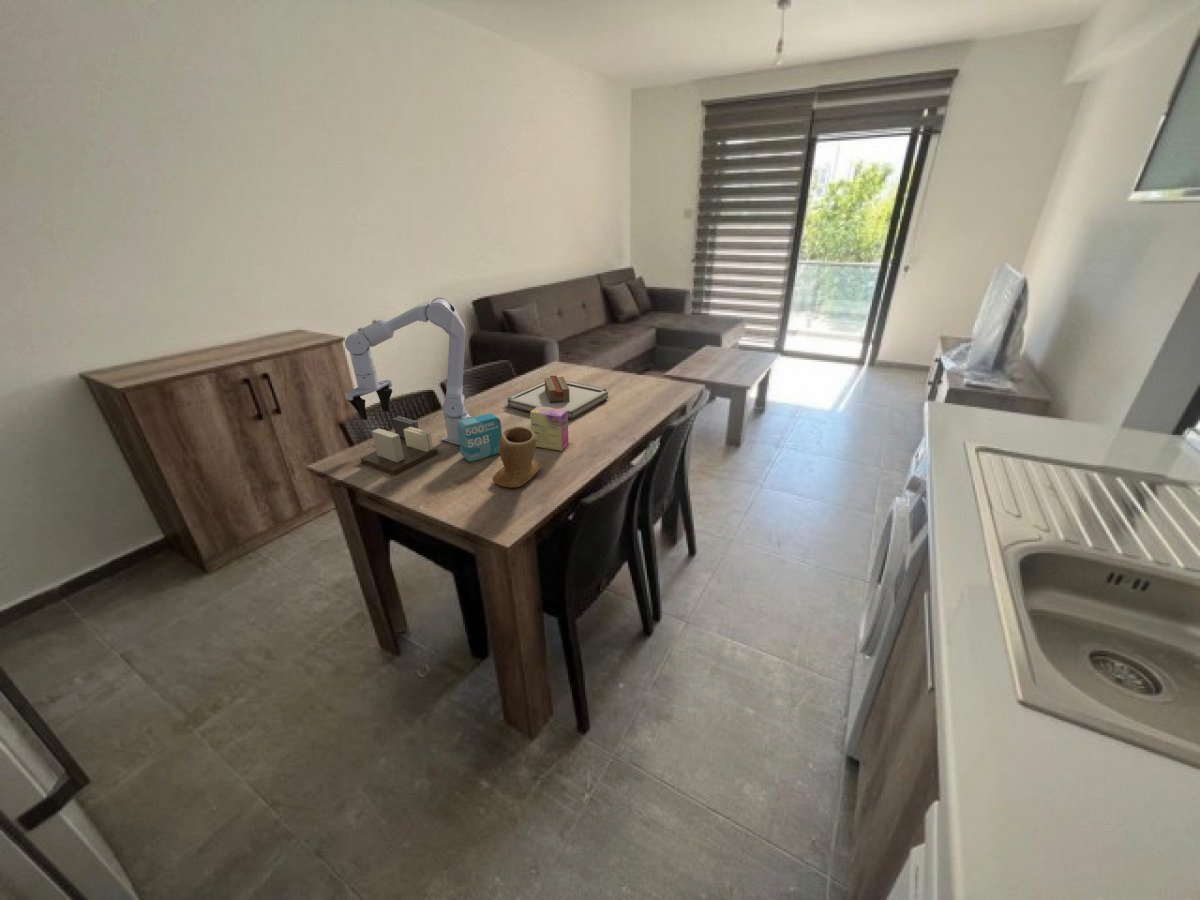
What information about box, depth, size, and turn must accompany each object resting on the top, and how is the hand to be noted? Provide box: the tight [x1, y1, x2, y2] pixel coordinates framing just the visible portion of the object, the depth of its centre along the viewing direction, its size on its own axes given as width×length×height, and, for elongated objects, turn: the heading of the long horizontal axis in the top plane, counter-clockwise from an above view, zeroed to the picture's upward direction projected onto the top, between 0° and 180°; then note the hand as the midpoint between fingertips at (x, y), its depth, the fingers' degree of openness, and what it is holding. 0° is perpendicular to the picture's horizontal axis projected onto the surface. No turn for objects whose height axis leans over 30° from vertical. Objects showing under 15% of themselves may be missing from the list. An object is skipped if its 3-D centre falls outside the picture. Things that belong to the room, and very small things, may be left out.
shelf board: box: [360, 438, 439, 476], centre depth 145 cm, size 15×16×2 cm
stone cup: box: [491, 425, 543, 488], centre depth 131 cm, size 15×12×15 cm
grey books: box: [391, 415, 420, 439], centre depth 157 cm, size 9×3×6 cm, turn 59°
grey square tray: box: [507, 375, 609, 420], centre depth 185 cm, size 30×30×8 cm
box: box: [529, 406, 569, 452], centre depth 150 cm, size 10×6×12 cm, turn 71°
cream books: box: [403, 427, 434, 452], centre depth 147 cm, size 9×3×6 cm, turn 59°
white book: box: [371, 428, 404, 462], centre depth 140 cm, size 9×2×8 cm, turn 59°
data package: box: [457, 412, 503, 463], centre depth 144 cm, size 12×4×12 cm, turn 126°
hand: (375, 414), depth 149 cm, fingers open, 7 cm apart
